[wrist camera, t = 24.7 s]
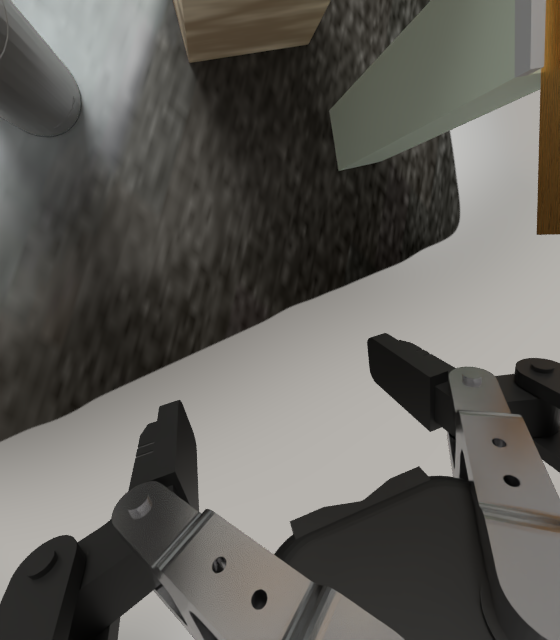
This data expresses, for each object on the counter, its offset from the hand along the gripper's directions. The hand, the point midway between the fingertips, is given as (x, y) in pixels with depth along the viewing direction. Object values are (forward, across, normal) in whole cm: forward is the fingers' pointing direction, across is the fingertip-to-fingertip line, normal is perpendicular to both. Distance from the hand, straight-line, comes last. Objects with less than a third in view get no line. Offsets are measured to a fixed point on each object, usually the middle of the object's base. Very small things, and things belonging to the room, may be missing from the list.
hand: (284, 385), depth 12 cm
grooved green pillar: (+36, +25, +13) cm, 45 cm away
